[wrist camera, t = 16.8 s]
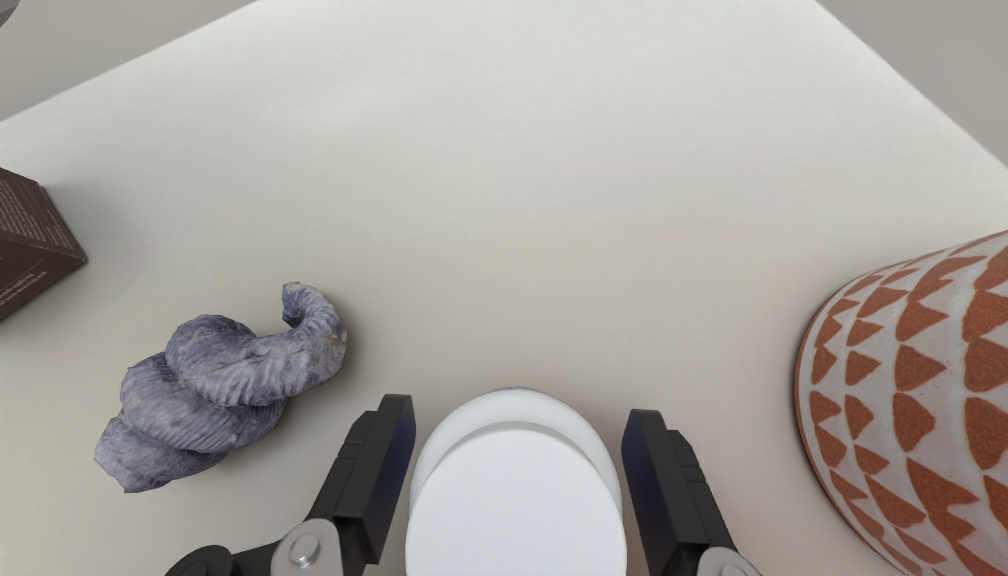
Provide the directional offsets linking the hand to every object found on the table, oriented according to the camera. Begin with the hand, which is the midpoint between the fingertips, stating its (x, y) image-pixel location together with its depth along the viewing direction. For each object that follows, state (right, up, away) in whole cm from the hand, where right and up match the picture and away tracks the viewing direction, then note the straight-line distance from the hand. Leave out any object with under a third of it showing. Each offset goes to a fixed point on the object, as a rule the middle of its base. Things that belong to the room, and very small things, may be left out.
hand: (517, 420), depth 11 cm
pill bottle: (0, -3, +5) cm, 5 cm away
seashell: (-11, 0, +5) cm, 13 cm away
